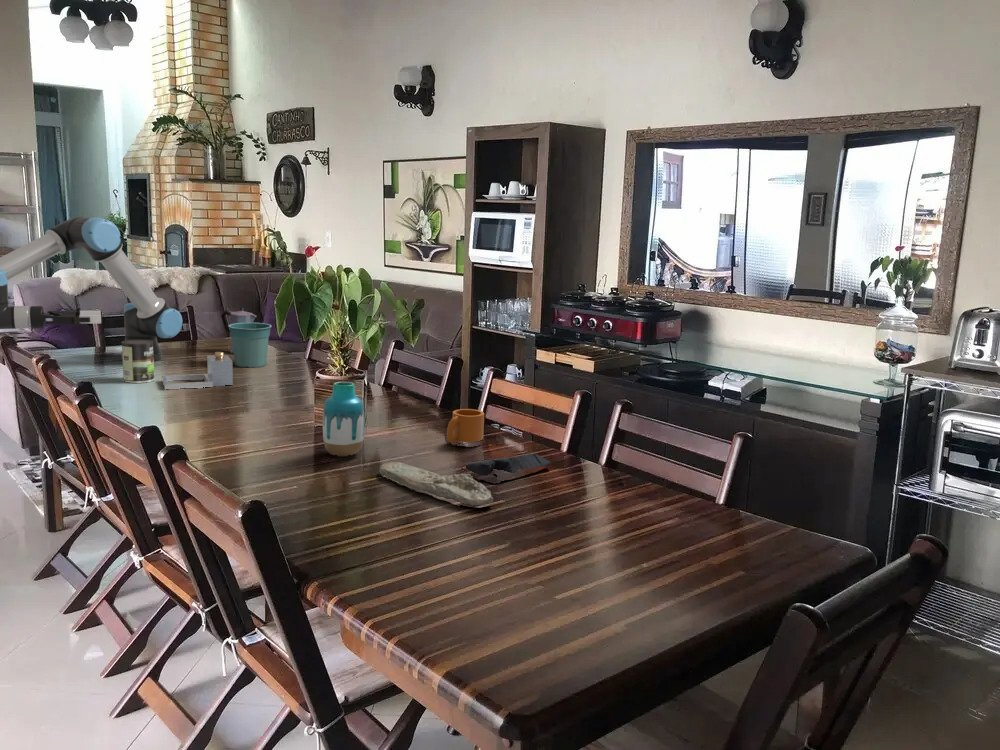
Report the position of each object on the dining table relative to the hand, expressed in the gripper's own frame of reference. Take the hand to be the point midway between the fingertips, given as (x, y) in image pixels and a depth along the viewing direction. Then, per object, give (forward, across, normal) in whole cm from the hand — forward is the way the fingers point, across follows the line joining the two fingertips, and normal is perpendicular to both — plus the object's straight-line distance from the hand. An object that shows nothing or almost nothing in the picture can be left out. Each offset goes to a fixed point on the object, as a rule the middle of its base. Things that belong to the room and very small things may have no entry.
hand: (101, 316), depth 279 cm
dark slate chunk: (+90, +135, -24) cm, 164 cm away
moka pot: (+53, -49, -23) cm, 76 cm away
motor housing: (+30, +11, -23) cm, 39 cm away
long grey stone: (+67, +143, -24) cm, 160 cm away
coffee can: (+11, 0, -23) cm, 26 cm away
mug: (+89, +110, -23) cm, 143 cm away
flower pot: (+53, -20, -23) cm, 61 cm away
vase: (+55, +110, -23) cm, 125 cm away
